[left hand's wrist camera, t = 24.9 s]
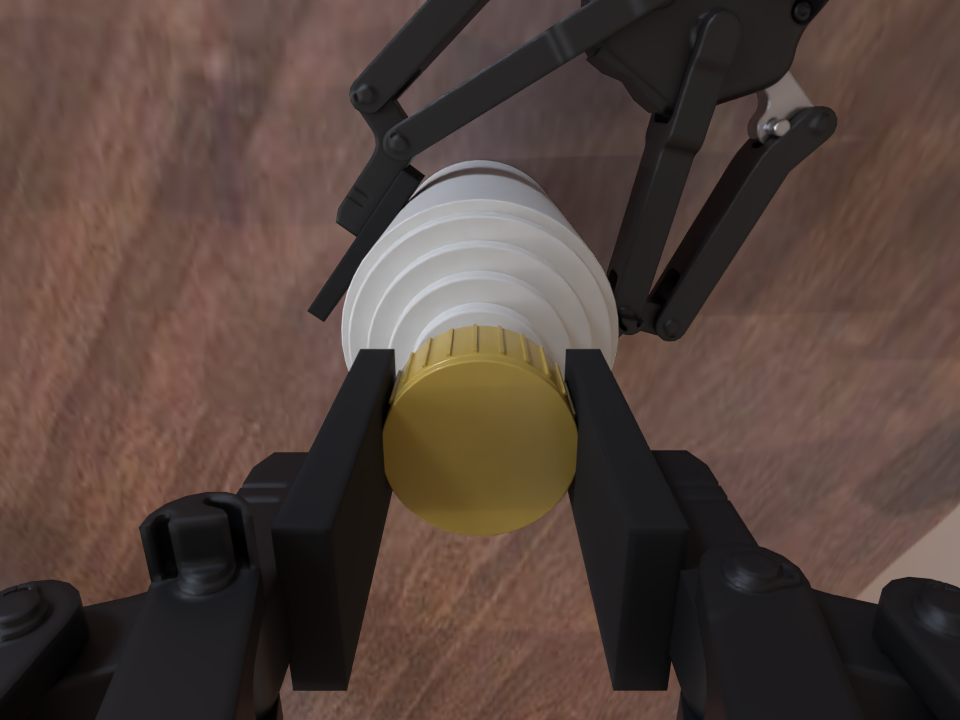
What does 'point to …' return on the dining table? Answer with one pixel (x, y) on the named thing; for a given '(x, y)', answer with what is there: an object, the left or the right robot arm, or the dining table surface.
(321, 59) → the dining table surface
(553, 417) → the cap
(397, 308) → the bottle
